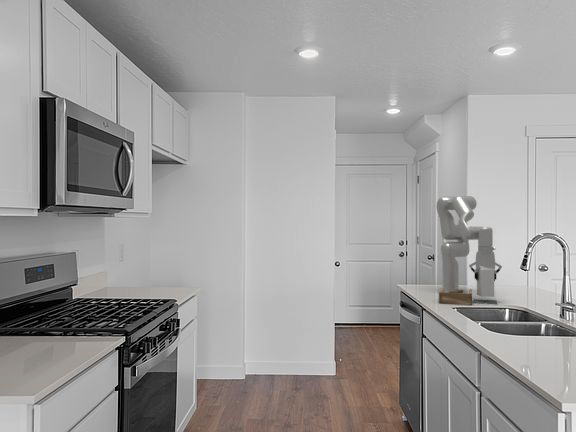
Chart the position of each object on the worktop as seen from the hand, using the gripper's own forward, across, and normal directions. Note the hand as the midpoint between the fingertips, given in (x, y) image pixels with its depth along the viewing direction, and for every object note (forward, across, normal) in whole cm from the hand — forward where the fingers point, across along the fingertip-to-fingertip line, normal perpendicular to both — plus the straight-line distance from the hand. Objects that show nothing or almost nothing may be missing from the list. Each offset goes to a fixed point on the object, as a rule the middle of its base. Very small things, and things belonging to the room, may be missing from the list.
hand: (485, 280), depth 279 cm
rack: (+12, +16, +5) cm, 20 cm away
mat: (+12, 0, 0) cm, 12 cm away
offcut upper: (+9, +16, -2) cm, 18 cm away
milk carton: (+9, 0, 0) cm, 9 cm away
